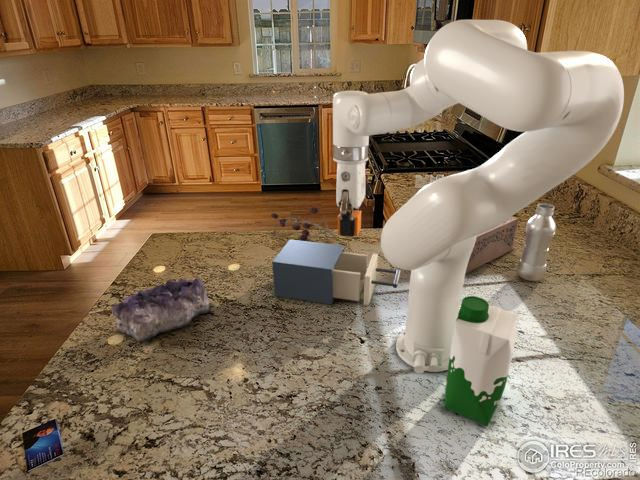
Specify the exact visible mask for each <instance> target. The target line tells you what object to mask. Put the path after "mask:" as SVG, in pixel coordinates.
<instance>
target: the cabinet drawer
mask: <svg viewBox="0 0 640 480" xmlns="http://www.w3.org/2000/svg"><path fill="white" fill-rule="evenodd" d="M378 261H379V254H378V253H372V255H371V258H370V261H369V264H368V254H365V253H364V254H363V253H357V252H346V251H344V252H342V254H341V256H340V258H339V260H338V262H337V264H336V266H335V267H334V269H333V297H334V298H335V299H342V300H348V301H355V302H359V301H360V298H361V296H362V293H363V306H369V305H370V302H371V299H372V297H373V293H374V291H375V287H376V285H379V286H387V287H392V288H393V289H397V288H398V287H399V283H400V278H401V273H402V271H401V270H402V269H399V268H397V269H396V270H395V269H387V268H379V267H378ZM378 272H379V273H380V272H381V273H389V274H394V277H393V282H389V281H381V280H377V279H378Z"/></svg>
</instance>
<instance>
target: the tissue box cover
mask: <svg viewBox="0 0 640 480" xmlns="http://www.w3.org/2000/svg"><path fill="white" fill-rule="evenodd" d="M518 224H519V218H518V217H515V216H511V217H510V218H508V219H507V220H506V221H504V222H503V223H502V224H500V225H498V226H497V227H495V228H493V229H491V230H488V231H486V232H483V233H481V234H478V235H477V238H476V242H475V245H474V248H473V250H472V253H471V256H470V258H469V261H468V265H467V268H466V273H465V275H466V274H468V273H469V272H471V271H474V270H475V269H477V268H479V267H481V266H483V265H485V264H487V263H489V262H492V261H493V260H495V259H497V258H499V257H501V256H503V255H505V254H506V253H509V252H511V251H512V250H513V247H514V243H515V237H516V233H517V228H518Z"/></svg>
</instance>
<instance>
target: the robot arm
mask: <svg viewBox="0 0 640 480" xmlns="http://www.w3.org/2000/svg"><path fill="white" fill-rule="evenodd" d="M527 42H528V41H527V39H526V37H525V35H524V33H523V32H522V30H521V29H520V28H519V26H517V25H515V24H514V23H511V22H509V21H506V20H501V19H457V20H454V21H451V22H449V23H446V24H445V25H444V26H442V27H440V28H439V29H438V30H437V31H436V32H435V34H433V36H432V37H431V38H430V40H429V41H428V44H427V46H426V49H425V52H424V58H423V59H421V60H419V61H418V62H417V63H416V64H414V66H413V68H412V70H411V73H410V76H409V77H410V78H409V86H407V87H405V88H403V89H400V90H395V91H393V90H392V91H383V92H374V93H368V92H366V91H363V90H362V91H361V90H341V91H338V92H336V93H335V94H334V95H333V98H332V160H333V162H336V163H337V165H336V184H335V187H336V189H335V191H336V192H335V197H336V198H335V201H336V202H335V203H336V206H337V207H338V208H340V209H339V214H340V236H341V237H351V238H353V237H355V236H354V230H355V220H354V219H353V215H354V210H357V211H360V210H359V209H360V207H361V206H362V203H363V202H364V201H365V200H364V199H365V198H366V162H367V161H368V160H369V147H370V146H369V145H370V144H369V142H370V136H375V135H382V134H387V133H392V132H399V131H405V130H407V129H411V128H413V127H415V126H418V125H420V124H423V123H425V122H427V121H430V120H432V119H434V118H435V117H437V116H438V115H439V114H441V113H442V112H443V111H444V110H446V109H448V108H451V107H452V106H455V105H458V104H459V105H462V106H464V107H465V108H467V109H469V110H471V111H472V112H473V113H475V114H477V115H480V116H481V117H483V118H485V119H486V120H488V121H489V122H491V123H493V124H495V125H497V126H499V127H501V128H504V129H506V130H510V131H515V132H518V133H519V132H523V133H521V134H519V135H518V136H517V137H516V138H514V139H512V140H510V142H509V143H507V144H506V145H504V147H502V148H501V150H499V152H497V153H495V154H494V155H493V156H492V157H491V158H489V159H487V160H486V161H485V162H484V163H482V164H481V165H479V166H477V167H475V168H472V169H467V170H465V171H462V172H458V173H453V174H450V175H446V176H443V177H440V178H438V179H435V180H433V181H431V182H429V183H428V184H426V185H424V186H423V187H422V188H420V189H419V190H418V191H417V192H416V193H414V195H413V196H412V197H411V198H409V199H408V200H407V201H406V202H405V203H404V204H403V205H401V206H400V207H399V209H397V210H396V211H395V212H394V213H393V214H392V215H391V216H390V217H389V218H388V219H387V221H386V222H385V224H384V225H383V227H382V230H381V234H380V249H381V251H382V254H383V256H384V258H385V259H386V260H387V262H388V263H390V264H391V265H392V266H393V267H395V268H397V269H399V270H404V271H410V276H409V277H410V278H409V287H408V296H407V297H408V298H407V307H406V318H405V329H404V331H402V332H401V333H400V334H398V336H397V338H396V343H395V350H396V353H397V354H398V356H399V358H400V359H401V360H402V361H404V363H406V364H407V365H409V366H410V367H413V371H414V373H416V374H417V375H420V374H421V375H422V374H423V373H425V372H430V373H439V372H444V371H448V365H449V359H450V352H451V346H452V340H453V334H454V327H455V322H456V319H457V317H458V313H459V310H460V308H461V302H462V294H463V290H464V283H465V277H466V274H467V273H466V268H467V265H468V261H469V258H470V256H471V253H472V250H473V248H474V245H475V242H476V238H477V235H478V234H481V233H483V232H486V231H488V230H491V229H493V228H495V227H497V226H498V225H500V224H502V223H503V222H504V221H506V220H507V219H508V218H510V217H511V216H512V217H514V215H516V214H517V213H519V212H520V211H522V210H523V209H525V208H527V207H528V206H529V205H531V204H533V203H534V202H535V201H537V200H538V199H540V198H542V197H543V196H544V195H545V194H547V193H549V192H551V190H553V189H554V188H556V187H557V186H559V185H560V184H562V183H564V182H565V181H566V180H568V179H569V178H571V177H572V176H573V175H575V174H576V173H578V172H579V171H580V170H582V169H583V168H584V167H586V166H587V165H588V164H589V163H591V161H593V160H594V158H595V157H596V156H597V155H599V153H601V152H602V150H603V149H604V148H605V147H606V146H607V144H608V142H609V141H610V140H611V138H612V136H613V135H614V133H615V131H616V129H617V127H618V124H619V122H620V119H621V117H622V113H623V108H624V102H625V89H624V82H623V77H622V75H621V73H620V70H619V69H618V67H617V66H616V64H615V63H614V62H613V61H612V60H610V59H609V58H607V57H606V56H604V55H603V54H600V53H597V52H593V51H587V50H564V51H563V50H562V51H547V52H546V51H545V52H535V51H532V50H529V49H528V43H527ZM348 210H351V211H350V212H349V211H348ZM465 273H466V274H465Z"/></svg>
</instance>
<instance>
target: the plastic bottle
mask: <svg viewBox="0 0 640 480" xmlns="http://www.w3.org/2000/svg"><path fill="white" fill-rule="evenodd" d="M536 206H537V207H536V209H535V214H534V215H533V216H532V217H530V218H529V220H528V221H527V222H526V225H525V239H524V246H523V250H522V255H521V257H520V259H519V262H518V263H517V269H516V271H517V274H518V276H519V277H520V278H521V279H523V280H526V281H529V282H539V281H541V280H542V279H543V278H544V277H545V275H546V274H547V258H548V252H549V249H550V245H551V243H552V240H553V237H554V235H555V234H556V230H557V224H556V221H555V220H554V218H553V216H554V212H555V208H556V207H555V206H554V205H552V204H549V203H538V204H537V205H536Z"/></svg>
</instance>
